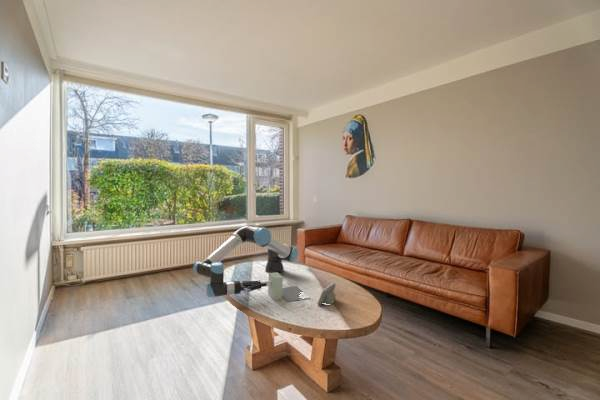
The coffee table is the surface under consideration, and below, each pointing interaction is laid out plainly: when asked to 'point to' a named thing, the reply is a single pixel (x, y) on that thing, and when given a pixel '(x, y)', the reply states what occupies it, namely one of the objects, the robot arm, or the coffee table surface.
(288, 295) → the felt pad
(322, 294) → the digital clock
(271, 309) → the coffee table surface
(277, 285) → the sage block
